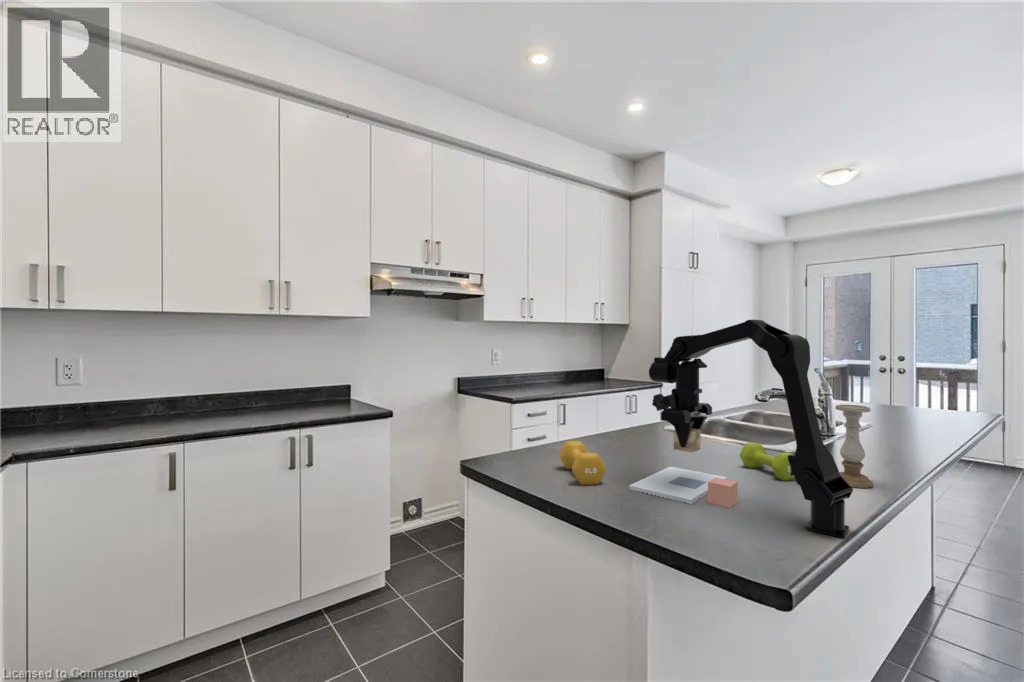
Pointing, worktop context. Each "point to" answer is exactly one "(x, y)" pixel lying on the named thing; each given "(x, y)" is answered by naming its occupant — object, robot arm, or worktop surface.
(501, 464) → the worktop surface
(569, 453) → the dumbbell
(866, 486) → the candle holder
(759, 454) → the dumbbell
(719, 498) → the coral block
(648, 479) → the blueprint board
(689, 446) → the maple block
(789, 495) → the worktop surface
